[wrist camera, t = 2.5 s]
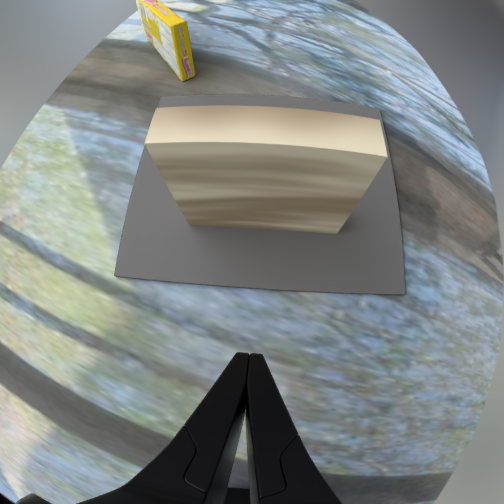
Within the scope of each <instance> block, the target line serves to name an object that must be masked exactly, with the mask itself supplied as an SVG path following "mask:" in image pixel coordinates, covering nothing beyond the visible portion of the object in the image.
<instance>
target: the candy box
mask: <svg viewBox="0 0 504 504" xmlns="http://www.w3.org/2000/svg"><path fill="white" fill-rule="evenodd" d="M136 2H137V6H138V11H139V14H140V18H141V22H142V26H143V29H144V33H145V36H146V38H147V39H148V40H149V41H150V42H151V44H152V45H153V46H154V47H155V49H156V50H157V51H158V52H159V54H160V55H161V56H162V57H163V58H164V60H165V61H166V62H167V63H168V64H169V66H170V67H171V68H172V70H173V71H174V72H175V73H176V75H177V76H178V77H179V78H180V79H181V81H185V80H188V79H190V78H192V77H194V76H195V70H194V64H193V58H192V51H191V44H190V38H189V32H188V26H187V21H185V20H184V19H182V18H181V17H180V16H178V15H177V14H176V13H174V12H173V11H172V10H170V9H169V8H167V7H166V6H165V5H163V4H162V3H161V2H159V1H158V0H136Z"/></svg>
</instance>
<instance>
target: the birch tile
mask: <svg viewBox="0 0 504 504" xmlns="http://www.w3.org/2000/svg"><path fill="white" fill-rule="evenodd" d="M144 144H145V146H146V148H147V150H148V151H149V153H150V155H151V157H152V159H153V161H154V163H155V164H156V166H157V168H158V170H159V172H160V174H161V176H162V177H163V179H164V181H165V183H166V185H167V186H168V188H169V190H170V192H171V194H172V195H173V197H174V199H175V201H176V203H177V204H178V206H179V208H180V210H181V211H182V213H183V215H184V217H185V219H186V220H187V222H188V224H189V225H201V226H221V227H239V228H257V229H273V230H289V231H303V232H318V233H331V234H337V233H338V232H339V230H340V229H341V227H342V226H343V224H344V223H345V222H346V220H347V219H348V217H349V216H350V214H351V213H352V211H353V210H354V208H355V207H356V205H357V204H358V202H359V201H360V199H361V198H362V196H363V195H364V193H365V192H366V190H367V188H368V187H369V185H370V184H371V182H372V181H373V179H374V178H375V176H376V175H377V173H378V171H379V170H380V168H381V167H382V165H383V163H384V162H385V160H386V159H387V157H388V156H387V151H386V146H385V141H384V137H383V132H382V128H381V123H380V120H377V119H372V118H366V117H360V116H354V115H347V114H340V113H333V112H325V111H316V110H306V109H295V108H282V107H265V106H229V105H218V106H182V107H165V108H156V111H155V113H154V116H153V119H152V122H151V125H150V128H149V131H148V134H147V137H146V140H145V143H144Z"/></svg>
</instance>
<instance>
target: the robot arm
mask: <svg viewBox="0 0 504 504" xmlns="http://www.w3.org/2000/svg"><path fill="white" fill-rule="evenodd" d="M245 409H246V413H245ZM244 416H246V437H247V454H248V471H249V486H250V489H237V488H227V486H228V482H229V478H230V474H231V470H232V466H233V462H234V458H235V454H236V450H237V446H238V442H239V438H240V433H241V429H242V425H243V421H244ZM184 425H185V426H183V427H182V428H181V429H180V430H179V432H178V433H177V434H176V436H175V437H174V438H173V439H172V440H171V442H170V443H169V444H168V445H167V446H166V447H165V448H164V449H163V450H162V451H161V452H160V453H159V454H158V455H157V456H156V457H155V458H154V459H153V460H152V461H151V462H150V463H149V464H148V465H147V466H146V467H145V468H144V469H143V470H141V471H140V472H139V473H138V474H137V475H136V476H135V477H134V478H133V479H131V480H130V481H129V482H128V483H126V484H125V485H123V486H122V487H120V488H118V489H116V490H113V491H111V492H108V493H106V494H103V495H100V496H98V497H95V498H92V499H89V500H86V501H83V502H80V503H77V504H342V502H341V501H340V500H339V499H338V497H337V496H336V495H335V493H334V492H333V491H332V489H331V488H330V486H329V485H328V483H327V482H326V481H325V479H324V478H323V476H322V475H321V473H320V472H319V471H318V469H317V467H316V466H315V464H314V463H313V461H312V459H311V458H310V456H309V454H308V452H307V450H306V448H305V446H304V445H303V442H302V440H301V438H300V436H299V435H298V432H297V430H296V428H295V426H294V423H293V421H292V419H291V417H290V415H289V412H288V410H287V408H286V406H285V404H284V401H283V399H282V397H281V395H280V393H279V390H278V388H277V386H276V384H275V381H274V379H273V377H272V375H271V372H270V370H269V368H268V365H267V363H266V361H265V359H264V356H263V355H262V354H256V353H251V354H250V356H249V354H248V353H242V352H237V353H236V354H235V355H234V357H233V358H232V360H231V361H230V362H229V364H228V365H227V367H226V368H225V370H224V371H223V372H222V374H221V375H220V377H219V378H218V379H217V381H216V382H215V383H214V385H213V386H212V388H211V389H210V390H209V392H208V393H207V394H206V396H205V397H204V399H203V400H202V401H201V403H200V404H199V405H198V407H197V408H196V409H195V411H194V412H193V413H192V415H191V416H190V417H189V419H188V420H187V421H186V423H185V424H184ZM0 504H52V503H50V502H48V501H46V500H44V499H43V498H41V497H39V496H37V495H36V494H34V493H31V494H29V495H27V496H25V497H23V498H22V499H20V500H19V501H17V503H15V502H13V501H12V500H10V499H9V498H7V497H6V496H5V495H3V494H2V493H0Z"/></svg>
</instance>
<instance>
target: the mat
mask: <svg viewBox="0 0 504 504" xmlns="http://www.w3.org/2000/svg"><path fill="white" fill-rule="evenodd" d="M218 105H229V106H265V107H282V108H295V109H306V110H316V111H325V112H333V113H340V114H347V115H354V116H360V117H366V118H372V119H377V120H380V123H381V128H382V132H383V137H384V141H385V146H386V151H387V156H388V157H387V159H386V160H385V162H384V163H383V165H382V167H381V168H380V170H379V171H378V173H377V175H376V176H375V178H374V179H373V181H372V182H371V184H370V185H369V187H368V188H367V190H366V192H365V193H364V195H363V196H362V198H361V199H360V201H359V202H358V204H357V205H356V207H355V208H354V210H353V211H352V213H351V214H350V216H349V217H348V219H347V220H346V222H345V223H344V224H343V226H342V227H341V229H340V230H339V232H338V233H337V234H331V233H318V232H303V231H289V230H273V229H257V228H239V227H221V226H201V225H189V224H188V222H187V220H186V219H185V217H184V215H183V213H182V211H181V210H180V208H179V206H178V204H177V203H176V201H175V199H174V197H173V195H172V194H171V192H170V190H169V188H168V186H167V185H166V183H165V181H164V179H163V177H162V176H161V174H160V172H159V170H158V168H157V166H156V164H155V163H154V161H153V159H152V157H151V155H150V153H149V151H148V150H147V148H146V146H144V150H143V153H142V156H141V160H140V163H139V167H138V170H137V174H136V177H135V181H134V185H133V188H132V192H131V196H130V200H129V204H128V209H127V213H126V217H125V222H124V226H123V231H122V236H121V241H120V246H119V251H118V256H117V262H116V268H115V273H114V276H116V277H125V278H135V279H145V280H155V281H165V282H176V283H188V284H200V285H212V286H225V287H239V288H254V289H269V290H286V291H305V292H326V293H352V294H385V295H405V275H404V258H403V245H402V234H401V224H400V216H399V208H398V200H397V193H396V187H395V180H394V174H393V169H392V163H391V158H390V153H389V148H388V143H387V139H386V134H385V130H384V125H383V121H382V117H381V113H380V109H378V108H372V107H367V106H361V105H355V104H349V103H342V102H335V101H328V100H319V99H310V98H300V97H288V96H273V95H249V94H206V95H182V96H167V97H161V100H160V102H159V105H158V108H165V107H182V106H218Z"/></svg>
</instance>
